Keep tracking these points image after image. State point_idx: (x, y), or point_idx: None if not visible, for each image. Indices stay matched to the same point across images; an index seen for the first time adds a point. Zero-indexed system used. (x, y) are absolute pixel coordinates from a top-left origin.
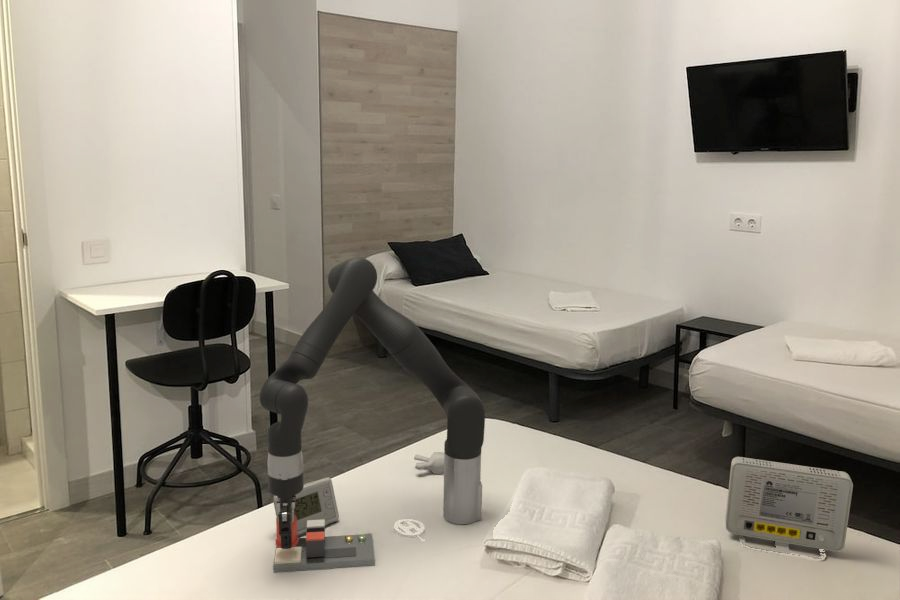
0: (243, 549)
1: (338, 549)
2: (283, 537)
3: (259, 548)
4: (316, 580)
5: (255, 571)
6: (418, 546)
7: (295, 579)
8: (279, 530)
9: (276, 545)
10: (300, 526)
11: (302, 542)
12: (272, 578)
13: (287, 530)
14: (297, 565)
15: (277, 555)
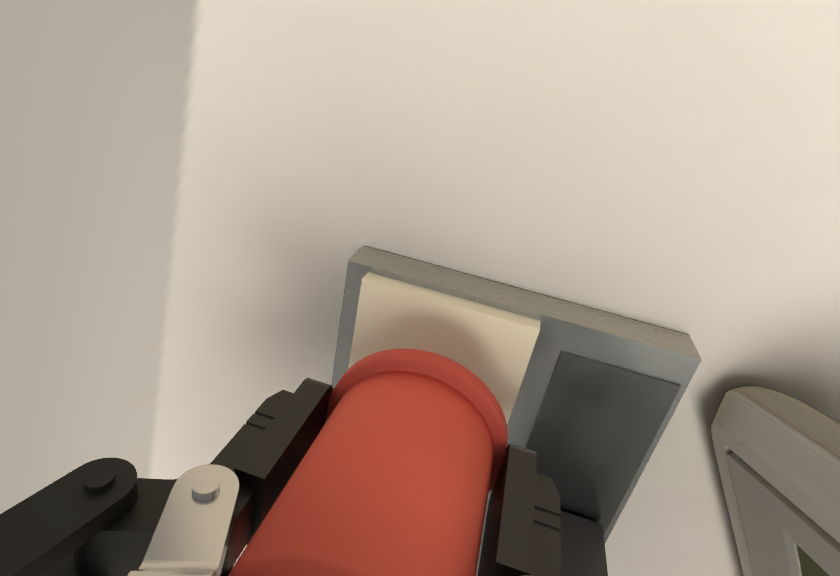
0: (787, 80)
1: None
2: (218, 458)
3: (723, 213)
4: (246, 414)
5: (411, 138)
6: None
7: (272, 335)
8: (10, 509)
9: (389, 352)
10: (759, 548)
11: (567, 482)
12: (306, 227)
13: (71, 559)
14: (332, 384)
15: (434, 314)
